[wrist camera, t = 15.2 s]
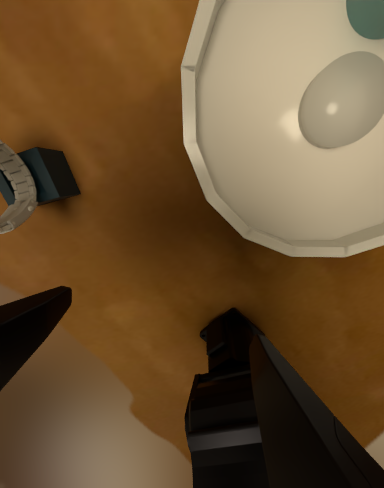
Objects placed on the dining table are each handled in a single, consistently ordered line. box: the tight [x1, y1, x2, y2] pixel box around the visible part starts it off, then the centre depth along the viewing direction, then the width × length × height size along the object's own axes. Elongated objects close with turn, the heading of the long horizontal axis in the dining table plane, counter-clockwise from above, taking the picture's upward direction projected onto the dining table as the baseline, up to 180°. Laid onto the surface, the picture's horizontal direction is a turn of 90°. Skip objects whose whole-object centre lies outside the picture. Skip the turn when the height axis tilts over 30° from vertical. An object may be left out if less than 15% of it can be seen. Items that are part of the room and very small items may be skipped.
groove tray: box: [181, 0, 384, 257], centre depth 15 cm, size 25×25×3 cm
